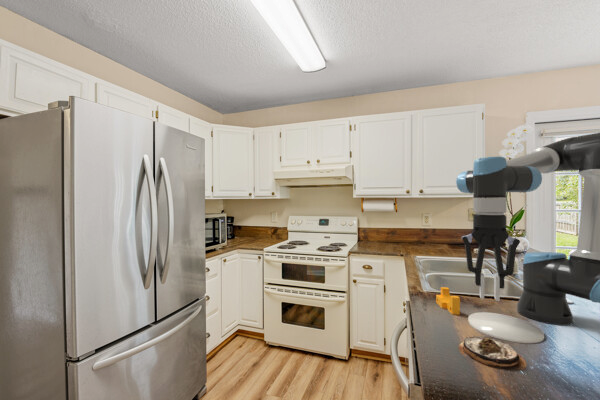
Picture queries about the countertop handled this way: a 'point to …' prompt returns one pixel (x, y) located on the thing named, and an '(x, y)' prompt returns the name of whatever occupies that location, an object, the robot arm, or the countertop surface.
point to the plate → (506, 327)
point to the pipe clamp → (448, 301)
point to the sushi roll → (492, 352)
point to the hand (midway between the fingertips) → (489, 298)
